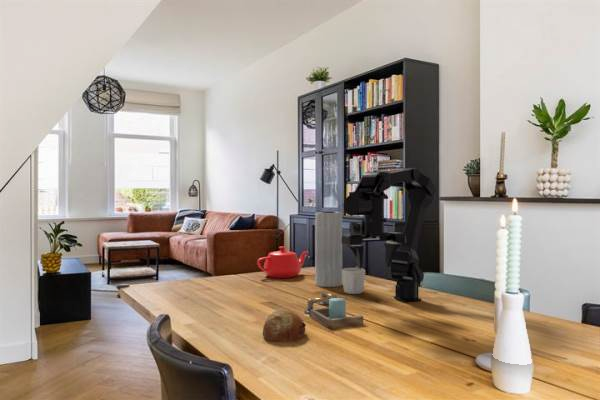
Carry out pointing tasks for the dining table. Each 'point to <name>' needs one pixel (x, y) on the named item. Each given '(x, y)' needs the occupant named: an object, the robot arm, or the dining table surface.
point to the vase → (328, 249)
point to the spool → (337, 308)
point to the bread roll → (283, 326)
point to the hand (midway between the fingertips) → (373, 267)
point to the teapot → (282, 263)
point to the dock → (333, 323)
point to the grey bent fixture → (319, 300)
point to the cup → (353, 280)
